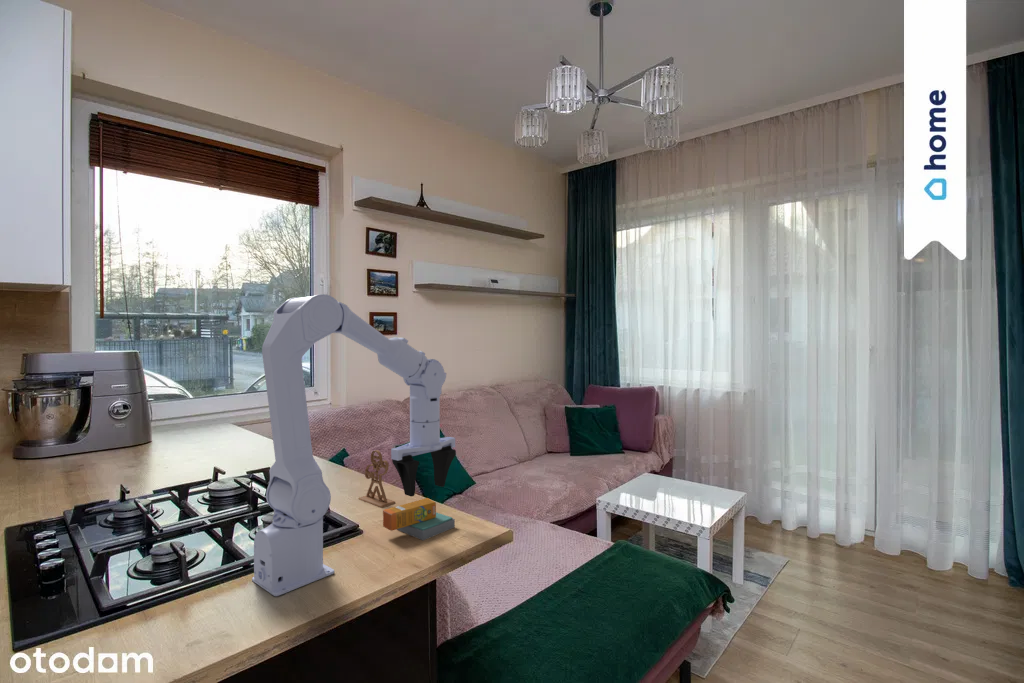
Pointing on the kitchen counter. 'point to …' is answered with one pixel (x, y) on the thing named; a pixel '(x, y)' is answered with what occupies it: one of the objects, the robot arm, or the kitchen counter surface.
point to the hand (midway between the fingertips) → (425, 490)
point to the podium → (430, 527)
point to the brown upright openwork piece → (372, 498)
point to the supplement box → (409, 514)
